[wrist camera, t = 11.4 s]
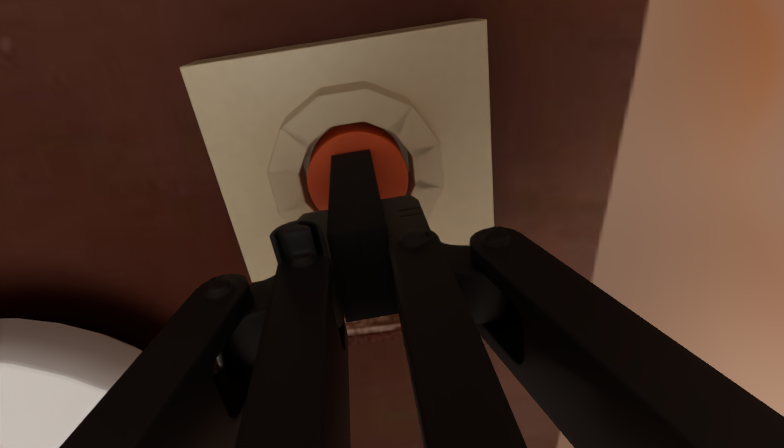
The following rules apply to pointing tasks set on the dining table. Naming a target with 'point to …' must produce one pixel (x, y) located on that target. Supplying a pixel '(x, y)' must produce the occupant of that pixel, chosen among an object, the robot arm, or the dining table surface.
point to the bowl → (53, 379)
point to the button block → (345, 106)
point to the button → (354, 139)
